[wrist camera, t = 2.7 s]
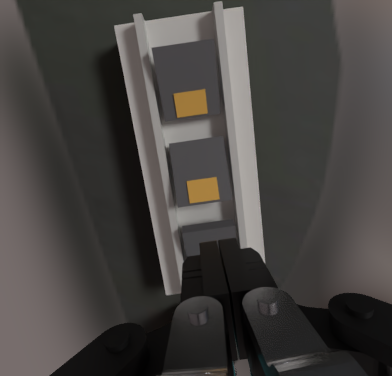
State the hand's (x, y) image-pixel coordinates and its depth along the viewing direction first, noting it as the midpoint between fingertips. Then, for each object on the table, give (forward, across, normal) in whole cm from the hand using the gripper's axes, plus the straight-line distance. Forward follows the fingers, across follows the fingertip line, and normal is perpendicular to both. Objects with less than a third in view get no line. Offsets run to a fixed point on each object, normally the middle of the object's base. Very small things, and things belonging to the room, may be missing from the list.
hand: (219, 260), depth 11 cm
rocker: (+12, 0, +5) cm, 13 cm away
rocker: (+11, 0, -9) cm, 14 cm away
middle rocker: (+12, 0, -2) cm, 12 cm away
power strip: (+16, 0, -2) cm, 17 cm away
